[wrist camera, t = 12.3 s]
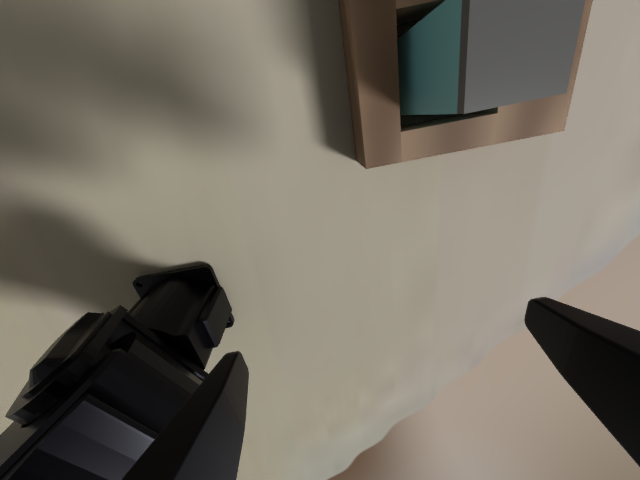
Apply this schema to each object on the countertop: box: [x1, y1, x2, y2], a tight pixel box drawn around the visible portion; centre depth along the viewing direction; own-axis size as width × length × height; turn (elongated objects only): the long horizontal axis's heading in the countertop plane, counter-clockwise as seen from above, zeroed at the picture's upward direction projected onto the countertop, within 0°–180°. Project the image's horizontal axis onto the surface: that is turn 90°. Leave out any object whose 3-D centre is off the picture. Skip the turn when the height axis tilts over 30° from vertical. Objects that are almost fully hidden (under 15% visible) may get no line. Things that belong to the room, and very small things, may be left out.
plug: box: [397, 0, 585, 115], centre depth 13 cm, size 4×4×8 cm
